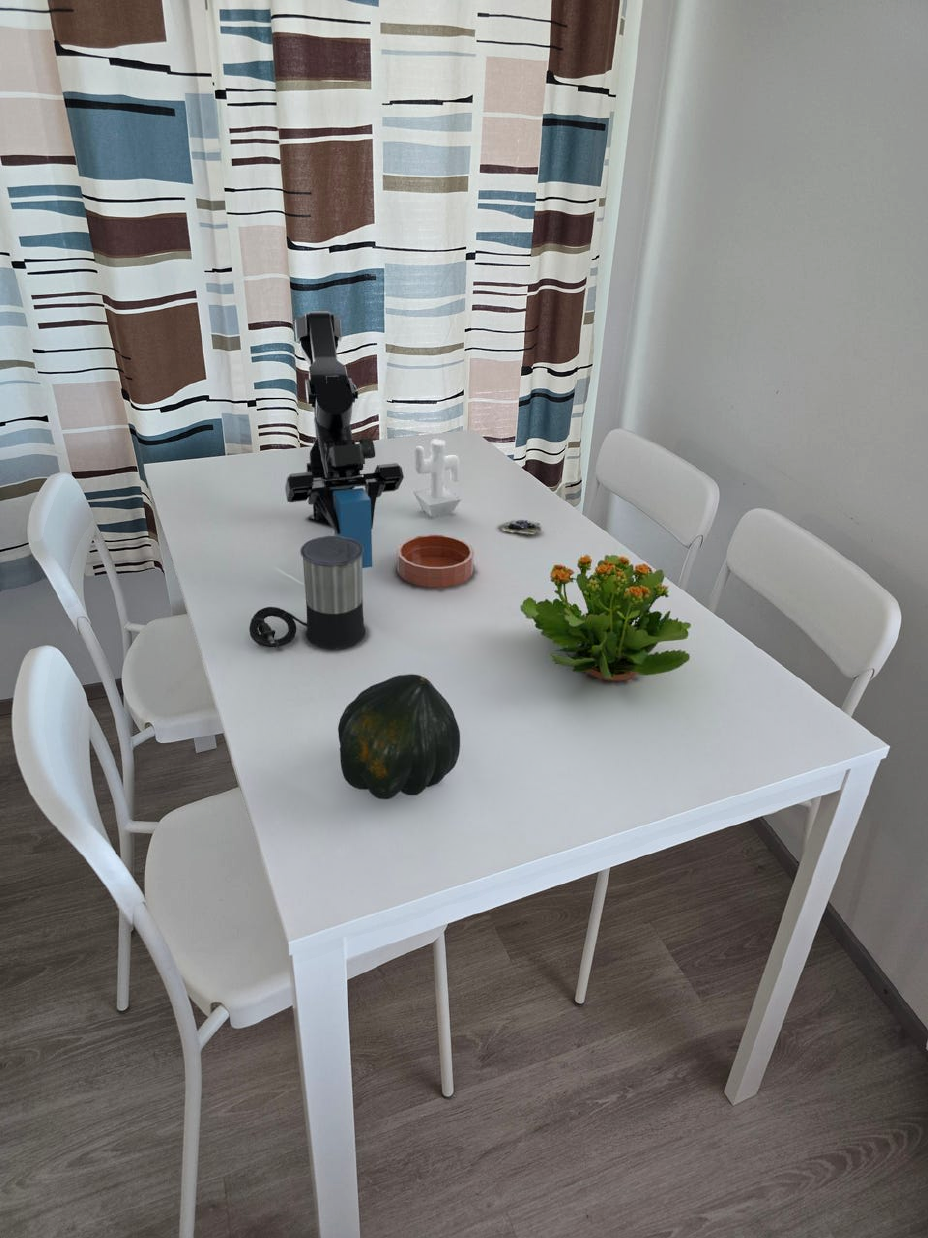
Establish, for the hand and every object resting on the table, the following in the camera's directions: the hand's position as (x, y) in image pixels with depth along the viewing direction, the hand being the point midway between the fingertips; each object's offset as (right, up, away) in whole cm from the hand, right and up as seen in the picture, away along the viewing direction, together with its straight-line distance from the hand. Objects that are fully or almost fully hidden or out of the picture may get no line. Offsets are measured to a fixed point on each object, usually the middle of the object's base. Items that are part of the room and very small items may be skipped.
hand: (354, 531), depth 138 cm
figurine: (+12, +7, +35) cm, 38 cm away
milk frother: (-6, -17, -6) cm, 19 cm away
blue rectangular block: (-1, -5, +4) cm, 6 cm away
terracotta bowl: (+13, -6, +13) cm, 19 cm away
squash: (+10, -33, -33) cm, 48 cm away
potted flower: (+40, -21, -10) cm, 47 cm away
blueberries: (+29, +3, +29) cm, 41 cm away
